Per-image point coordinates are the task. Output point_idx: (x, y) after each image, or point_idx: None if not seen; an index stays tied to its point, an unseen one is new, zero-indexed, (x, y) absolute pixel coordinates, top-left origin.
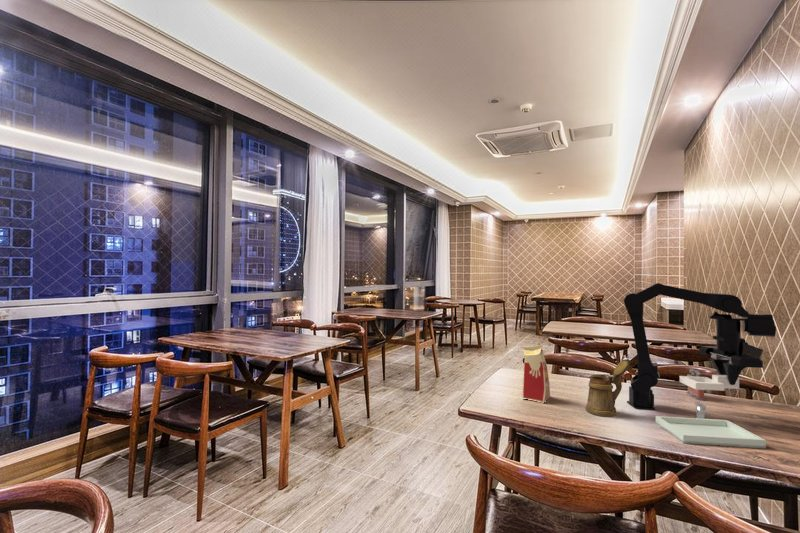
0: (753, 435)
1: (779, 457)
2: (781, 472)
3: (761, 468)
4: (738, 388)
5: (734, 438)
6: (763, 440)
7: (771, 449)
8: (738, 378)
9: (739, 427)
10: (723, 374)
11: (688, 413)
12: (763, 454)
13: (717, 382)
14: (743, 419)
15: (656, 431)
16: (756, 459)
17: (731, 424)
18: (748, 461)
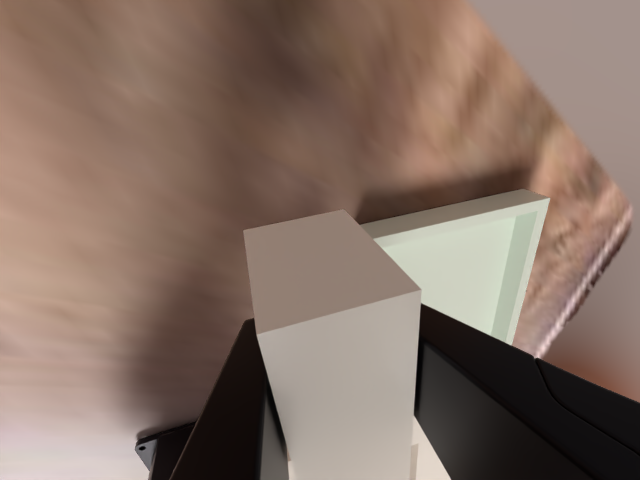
0: (511, 216)
1: (571, 184)
2: (622, 229)
3: (600, 262)
4: (347, 218)
5: (526, 285)
6: (547, 205)
7: (527, 172)
8: (410, 287)
9: (444, 230)
10: (282, 455)
11: (206, 319)
12: (550, 218)
13: (417, 432)
14: (182, 69)
15: None
16: (568, 251)
17: (404, 240)
18: (572, 273)
